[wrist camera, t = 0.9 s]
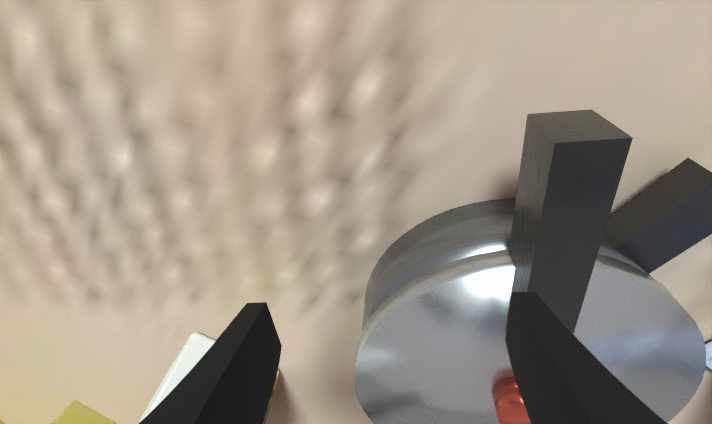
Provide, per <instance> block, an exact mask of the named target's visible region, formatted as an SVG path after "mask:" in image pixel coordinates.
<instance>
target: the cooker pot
mask: <svg viewBox="0 0 712 424" xmlns="http://www.w3.org/2000/svg"><path fill="white" fill-rule="evenodd" d="M515 201H516V199H504V200H490V201H484V202H479V203H473V204H468V205H465V206H461V207H458V208H454V209H451V210H448V211H446V212H443V213H441V214H438V215H436V216H433V217H431V218H430V219H428V220H426V221H424V222H422V223H420V224H418V225H417V226H415V227H414V228H412V229H411V230H409V231H408V232H407V233H405V234H404V235H402V236H401V237H400V238H399V239H398V240H397V241H396V242H395V243H393V244H392V245H391V246H390V247H389V248H388V250H387V251H386V252H385V253H384V254H383V256H382V257H381V258H380V259H379V261H378V263H377V264H376V266H375V268H374V269H373V271H372V274H371V276H370V279H369V281H368V284H367V289H366V294H365V304H364V316H363V328H362V332H363V330H364V328H365V326H366V324H367V323H368V321H369V319H370V318H371V316H372V315H373V314H374V313H375V311H376V310H377V309H378V308H379V307H380V305H381V304H382V303H383V302H385V301H386V300H387V299H388V298H389V297H390V296H391V295H392V294H393V293H395V292H396V291H397V290H399V289H400V288H402V287H403V286H405V285H406V284H407V283H409V282H410V281H412V280H414V279H416V278H417V277H419V276H421V275H423V274H425V273H427V272H429V271H431V270H433V269H435V268H438V267H441V266H443V265H446V264H448V263H451V262H453V261H456V260H460V259H463V258H467V257H470V256H474V255H478V254H482V253H488V252H494V251H499V250H505V249H509V244H510V237H511V230H512V223H513V216H514V209H515ZM710 234H712V172H710V171H708V170H707V169H705V168H704V167H702V166H700V165H699V164H697V163H696V162H694V161H693V160H691V159H689V158H687V159H686V160H684V161H683V162H682V163H680V164H679V165H678V166H676V167H675V168H674V169H672V170H671V171H670V172H668V173H667V174H666V175H664V176H663V177H662V178H660V179H659V180H658V181H656V182H655V183H654V184H652V185H651V186H650V187H648V188H647V189H646V190H644V191H643V192H642V193H640V194H639V195H638V196H637V197H635V198H634V199H633V200H631V201H630V202H629V203H627V204H626V205H625V206H623V207H622V208H621V209H619V210H618V211H617V212H615V213H614V214H613V215H611V216H610V217H609V218H608V221H607V225H606V228H605V231H604V235H603V238H602V241H601V245H600V248H599V251H598V254H600V255H604V256H608V257H611V258H614V259H617V260H619V261H622V262H625V263H627V264H630V265H632V266H634V267H636V268H638V269H639V270H641V271H643V272H645V273H647V274H649V273H651V272H652V271H654V270H655V269H657V268H658V267H660V266H662V265H663V264H665V263H666V262H668V261H669V260H671V259H673V258H674V257H676V256H677V255H679V254H680V253H682V252H684V251H685V250H687V249H688V248H690V247H691V246H693V245H695V244H696V243H698V242H699V241H701V240H702V239H704V238H706V237H707V236H709V235H710Z"/></svg>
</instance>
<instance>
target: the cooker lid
mask: <svg viewBox="0 0 712 424" xmlns="http://www.w3.org/2000/svg"><path fill="white" fill-rule="evenodd" d="M631 142H632V137H631V136H629V135H628V134H626V133H625V132H623V131H622V130H621V129H619V128H618V127H616V126H615V125H613V124H612V123H610V122H609V121H607V120H606V119H605V118H603V117H602V116H600V115H599V114H597V113H596V112H594V111H593V110H580V111H566V112H552V113H538V114H528V116H527V123H526V130H525V138H524V145H523V152H522V159H521V166H520V173H519V180H518V187H517V194H516V201H515V209H514V216H513V223H512V230H511V237H510V244H509V249H505V250H499V251H494V252H488V253H482V254H478V255H474V256H470V257H467V258H463V259H460V260H456V261H453V262H451V263H448V264H446V265H443V266H441V267H438V268H435V269H433V270H431V271H429V272H427V273H425V274H423V275H421V276H419V277H417V278H416V279H414V280H412V281H410V282H409V283H407V284H406V285H405V286H403V287H402V288H400V289H399V290H397V291H396V292H395V293H393V294H392V295H391V296H390V297H389V298H388V299H387V300H386V301H385V302H383V303H382V304H381V305H380V307H379V308H378V309H377V310H376V311H375V313H374V314H373V315H372V316H371V318H370V319H369V321H368V323H367V324H366V326H365V328H364V330H363V332H362V335H361V337H360V340H359V343H358V349H357V356H356V366H355V389H356V392H357V396H358V399H359V402H360V404H361V406H362V408H363V410H364V411H365V413H366V414H367V415H368V417H369V418H370V419H371V421H372V422H373V423H374V424H531V422H530V419H529V416H528V413H527V411H526V408H525V405H524V403H523V400H522V397H521V394H520V392H519V389H518V386H517V383H516V380H515V378H514V374H513V370H512V366H511V362H510V358H509V354H508V350H507V346H506V341H505V338H506V331H507V324H508V316H509V309H510V301H511V294H512V292H533V291H534V292H536V293H537V294H538V295H539V296H540V297H541V299H542V300H543V301H544V302H545V303H546V304H547V305H548V307H549V308H550V309H551V310H552V311H553V312H554V313H555V315H556V316H557V317H558V318H559V319H560V320H561V321H562V322H563V323H564V325H565V326H566V327H567V328H568V329H569V330H570V331H571V332H572V333H573V334H574V335H575V337H576V338H577V339H578V340H579V341H580V342H581V343H582V344H583V345H584V346H585V347H586V348H587V349H588V350H589V351H590V352H591V353H592V354H593V355H594V356H595V357H596V358H597V359H598V360H599V361H600V362H601V363H602V364H603V365H604V366H605V367H606V368H607V369H608V370H609V371H610V372H611V373H612V374H613V375H614V376H615V377H616V378H617V379H618V380H619V381H620V382H622V383H623V384H624V385H625V386H626V387H627V388H628V389H629V390H630V391H631V392H632V393H633V394H634V395H636V396H637V397H638V398H639V399H640V400H641V401H642V402H643V403H644V404H646V405H647V406H648V407H649V408H650V409H651V410H652V411H654V412H655V413H656V414H657V415H658V416H659V417H661V418H662V419H663V420H664V421H665V422H669V421H670V420H671V419H673V418H674V417H675V416H676V415H677V414H678V413H679V412H680V411H681V410H682V409H683V408H684V407H685V406H686V405H687V403H688V402H689V401H690V400H691V398H692V397H693V396H694V394H695V393H696V391H697V389H698V387H699V385H700V383H701V381H702V378H703V375H704V371H705V367H706V348H705V343H704V339H703V336H702V334H701V332H700V330H699V328H698V326H697V324H696V322H695V321H694V320H693V319H692V317H691V316H690V315H689V314H688V313H687V312H686V311H685V309H684V308H683V307H682V306H681V305H680V304H679V302H678V301H677V300H676V299H675V298H674V297H673V296H672V294H671V293H670V292H669V291H668V290H667V289H666V288H665V287H664V286H663V285H662V284H661V283H659V282H658V281H657V280H655V279H654V278H653V277H652V276H650V275H649V274H647V273H645V272H643V271H641V270H639V269H638V268H636V267H634V266H632V265H630V264H627V263H625V262H622V261H619V260H617V259H614V258H611V257H608V256H604V255H600V254H598V251H599V248H600V245H601V241H602V238H603V235H604V231H605V228H606V225H607V221H608V218H609V215H610V211H611V208H612V205H613V201H614V198H615V195H616V191H617V188H618V185H619V181H620V178H621V175H622V171H623V168H624V165H625V161H626V158H627V155H628V152H629V148H630V145H631Z"/></svg>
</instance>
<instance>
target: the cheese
mask: <svg viewBox="0 0 712 424" xmlns="http://www.w3.org/2000/svg"><path fill="white" fill-rule="evenodd" d="M0 424H5V423H3V422H2V421H1V420H0ZM52 424H116V423H115V422H114V421H112V420H110V419H109V418H107V417H105V416H103V415H101V414H100V413H98V412H96V411H94V410H92V409H91V408H89V407H87V406H85V405H83V404H82V403H80V402H78V401H76V400H74V401H73V402H72V403H71V404H70V405H69V406H68V407H67V408H66V409H65V410H64V411H63V412H62V413H61V414H60V415H59V417H58V418H57V419H56V420H55V421H54V422H53V423H52Z"/></svg>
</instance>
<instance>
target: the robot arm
mask: <svg viewBox="0 0 712 424" xmlns="http://www.w3.org/2000/svg"><path fill="white" fill-rule="evenodd" d="M505 341H506V346H507V350H508V354H509V358H510V362H511V366H512V370H513V374H514V378H515V380H516V383H517V386H518V389H519V392H520V394H521V397H522V400H523V403H524V405H525V408H526V411H527V413H528V416H529V419H530V422H531V424H668V423H667V422H665V421H664V420H663V419H662V418H661V417H659V416H658V415H657V414H656V413H655V412H654V411H652V410H651V409H650V408H649V407H648V406H647V405H646V404H644V403H643V402H642V401H641V400H640V399H639V398H638V397H637V396H636V395H634V394H633V393H632V392H631V391H630V390H629V389H628V388H627V387H626V386H625V385H624V384H623V383H622V382H620V381H619V380H618V379H617V378H616V377H615V376H614V375H613V374H612V373H611V372H610V371H609V370H608V369H607V368H606V367H605V366H604V365H603V364H602V363H601V362H600V361H599V360H598V359H597V358H596V357H595V356H594V355H593V354H592V353H591V352H590V351H589V350H588V349H587V348H586V347H585V346H584V345H583V344H582V343H581V342H580V341H579V340H578V339H577V338H576V337H575V335H574V334H573V333H572V332H571V331H570V330H569V329H568V328H567V327H566V326H565V325H564V323H563V322H562V321H561V320H560V319H559V318H558V317H557V316H556V315H555V313H554V312H553V311H552V310H551V309H550V308H549V307H548V305H547V304H546V303H545V302H544V301H543V300H542V299H541V297H540V296H539V295H538V294H537V293H536V292H534V291H533V292H512V294H511V301H510V309H509V316H508V324H507V331H506V338H505ZM281 347H282V346H281V343H280V340H279V337H278V335H277V332H276V329H275V326H274V323H273V320H272V318H271V315H270V312H269V309H268V306H267V303H266V302H265V303H247V304H246V305H245V306H244V307H243V309H242V310H241V311H240V312H239V313H238V315H237V316H236V317H235V318H234V320H233V321H232V322H231V323H230V324H229V326H228V327H227V328H226V329H225V331H224V332H223V333H222V334H221V335H220V337H219V338H218V339H217V340H216V341H215V343H214V344H213V345H212V346H211V347H210V349H209V350H208V351H207V352H206V353H205V354H204V356H203V357H202V358H201V359H200V360H199V361H198V363H197V364H196V365H195V366H194V367H193V368H192V369H191V371H190V372H189V373H188V374H187V375H186V376H185V377H184V378H183V379H182V380H181V381H180V382H179V384H178V385H177V386H176V387H175V388H174V389H173V390H172V391H171V392H170V393H169V394H168V395H167V396H166V397H165V398H164V399H163V400H162V401H161V402H160V403H159V404H158V405H157V406H156V407H155V408H154V409H153V410H152V411H151V412H150V413H149V414H148V415H147V416H146V417H145V418H144V419H143V420H142V421H141V422H140V423H139V424H263V423H264V420H265V416H266V413H267V410H268V406H269V403H270V399H271V396H272V392H273V389H274V385H275V381H276V377H277V371H278V366H279V360H280V353H281ZM705 348H706V366H707V367H708V368H710V369H711V370H712V341H711V342H709V343H707V344H705Z"/></svg>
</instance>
